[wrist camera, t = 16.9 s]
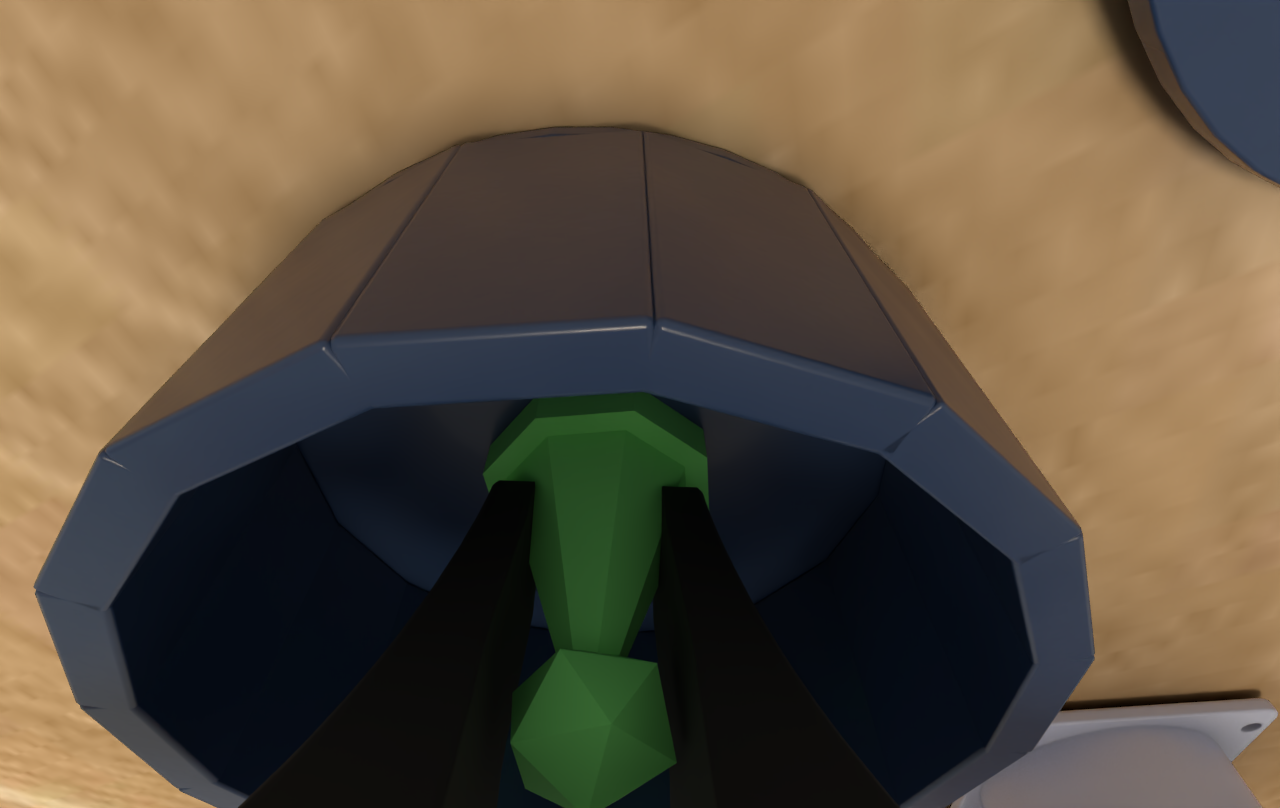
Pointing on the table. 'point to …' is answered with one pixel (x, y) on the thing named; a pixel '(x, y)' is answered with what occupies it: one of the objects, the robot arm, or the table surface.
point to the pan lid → (1220, 72)
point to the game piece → (595, 586)
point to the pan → (563, 367)
